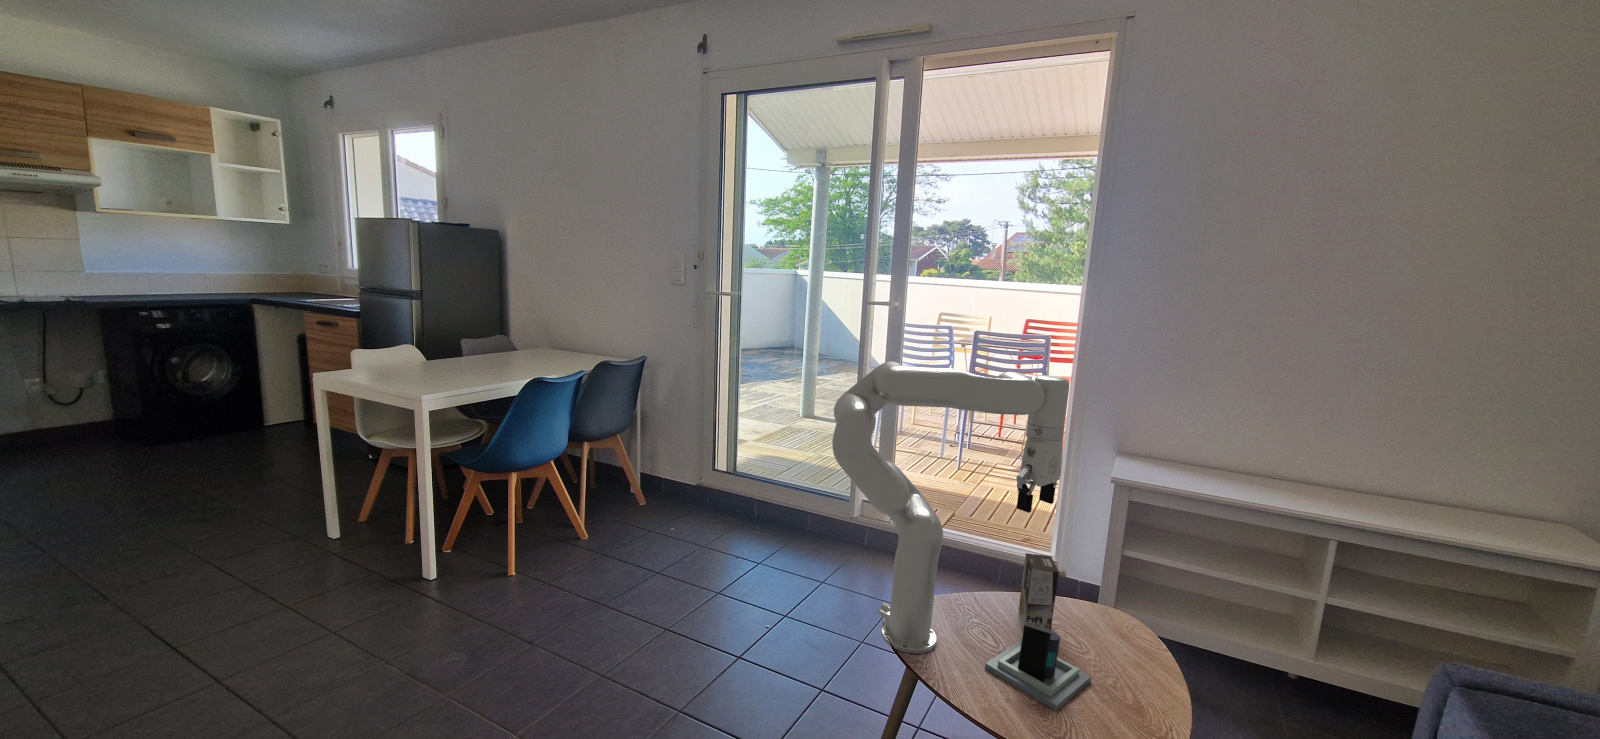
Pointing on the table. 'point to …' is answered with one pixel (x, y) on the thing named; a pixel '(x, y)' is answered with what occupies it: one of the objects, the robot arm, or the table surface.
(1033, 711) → the table surface
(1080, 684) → the dock
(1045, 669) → the speaker
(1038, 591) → the coffee box
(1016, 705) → the table surface
